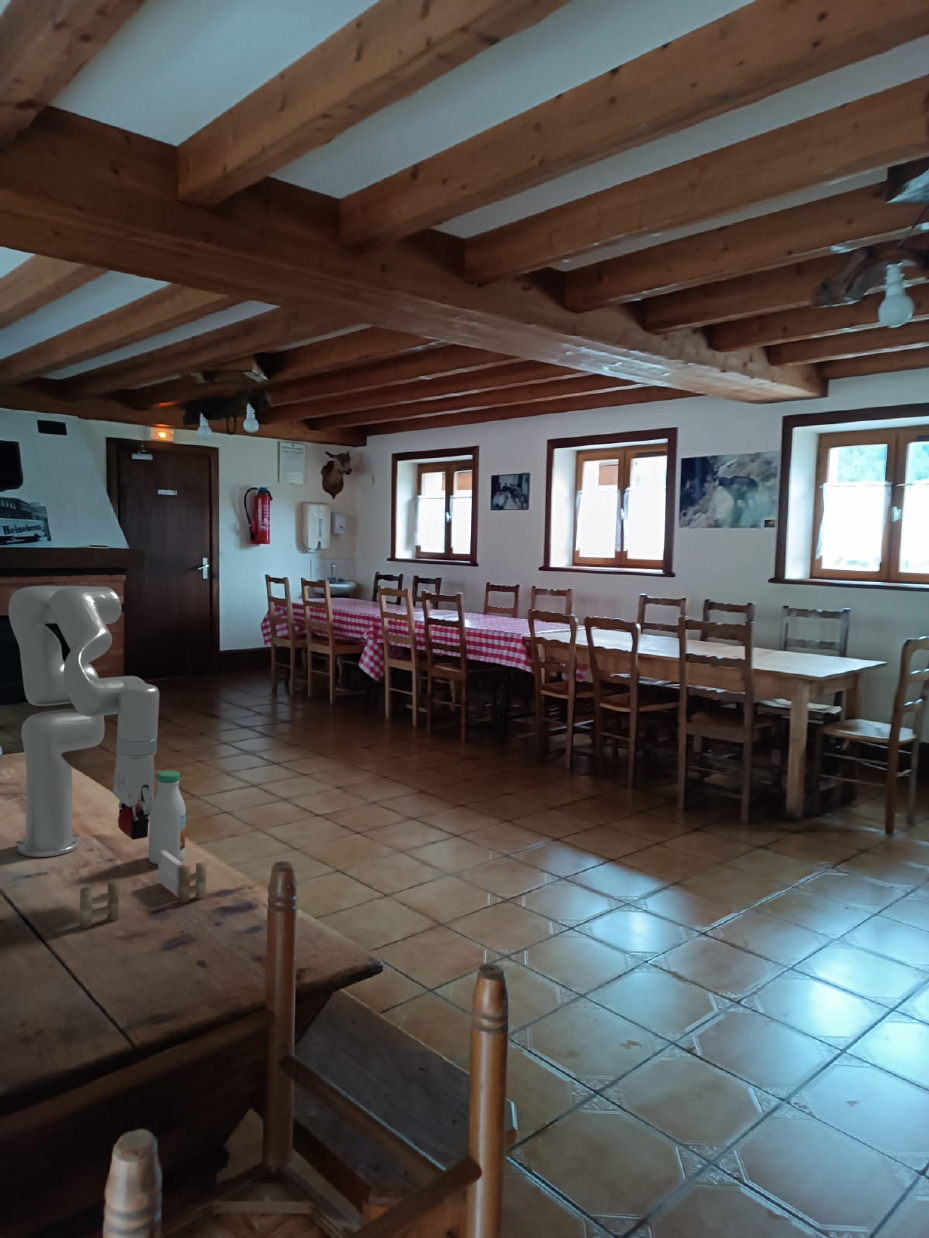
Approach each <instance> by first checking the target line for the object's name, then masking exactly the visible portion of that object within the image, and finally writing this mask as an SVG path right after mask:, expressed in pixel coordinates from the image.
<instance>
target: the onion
mask: <svg viewBox="0 0 929 1238" xmlns="http://www.w3.org/2000/svg"><path fill="white" fill-rule="evenodd" d="M137 804H139V803H137ZM142 808H143V806H142V807H137V809H138V812H139V811H140V810H141V809H142ZM117 818H118V819H117V824H118V828H119V830H120V831H121V832H122V833H123V834H124V835H126V836H127V837H129V838H130V839H131V821H132V820H133V819H134V818H133V807H128V806H126V807H125V808H124V809H123V810H122V811H121V813H120V815H119V814H118V817H117ZM149 822H150V819H149V820H148V824H149Z"/></svg>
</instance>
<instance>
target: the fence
mask: <svg viewBox="0 0 929 1238" xmlns="http://www.w3.org/2000/svg"><path fill="white" fill-rule="evenodd" d="M191 882H195V885H191V886H190V883H191ZM206 887H207V863H206V862H204V861H200V862H197V863H196V864H195V873H194V872H192V873H191V867H190V866H189V865H184V866H181V867H180V869H179V896H178V903H179V904H187V903H189V902H190V895H192V894H194V896H195V897H194V898H195V899H196V900H204V899H205V898H206V891H207V890H206V889H207V888H206ZM79 891H80V892H79V928H82V929H87V928H90V927H91V926H92V919H93V918H94V919H95V918H97V917H102V916H106V917H107V918H106V920H107V922H108V921H109V922H116V921H117V920H119V917H120V916H119V914H120V913H119V912H120V882H119V881H116V880H114V881H109V882H108V883H107V892H105V893H100V894H96V895H93V888H92V887H88V886H87V887H86V886H85V887H81V888H80V890H79ZM105 902H107V905H105V906H102V907H98V908H93V907H92V906H93V905H95V904H102V903H105Z"/></svg>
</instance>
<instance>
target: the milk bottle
mask: <svg viewBox="0 0 929 1238" xmlns="http://www.w3.org/2000/svg"><path fill="white" fill-rule="evenodd" d="M180 776H181V775H180V772H178V771H175V770H165V771H160V772H159V773H158V774H157V784H158V788H157V791H156V794H155V795H154V798H153V802H152V810H151V811H150V814H149V823H148V860H149V862H150V863H152V864H154V865H158V866H159V851H160V850H166V851H167V852H168V853H170V854H171V855H172V856H174V857H175V858H176V859H178V860H179V861H180V862H182V861H183V860H184V858H185V853H186V849H185V848H186V822H187V821H186V817H187V816H186V813H187V812H186V804H185V801H184V799H183V796H182V793H181V791H180V789H179V788H180V787H179V784H180Z"/></svg>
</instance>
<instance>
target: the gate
mask: <svg viewBox="0 0 929 1238" xmlns="http://www.w3.org/2000/svg"><path fill="white" fill-rule="evenodd" d="M181 866H185V864H184V863H183V862H182V861H179V860H178V859H176V858H175V857H174V856H172V855H171V854H170V853H168V852H167V851H166V850H160V851H159V865H158V870H157V871H158V877H157V878H158V881H159V882H160V883H162V884H163V885H164V886H166V887H167V888H168V889H169V890H170V891H171V892H173V893H174V894H176V896H178V897H179V869H180V867H181Z"/></svg>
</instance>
